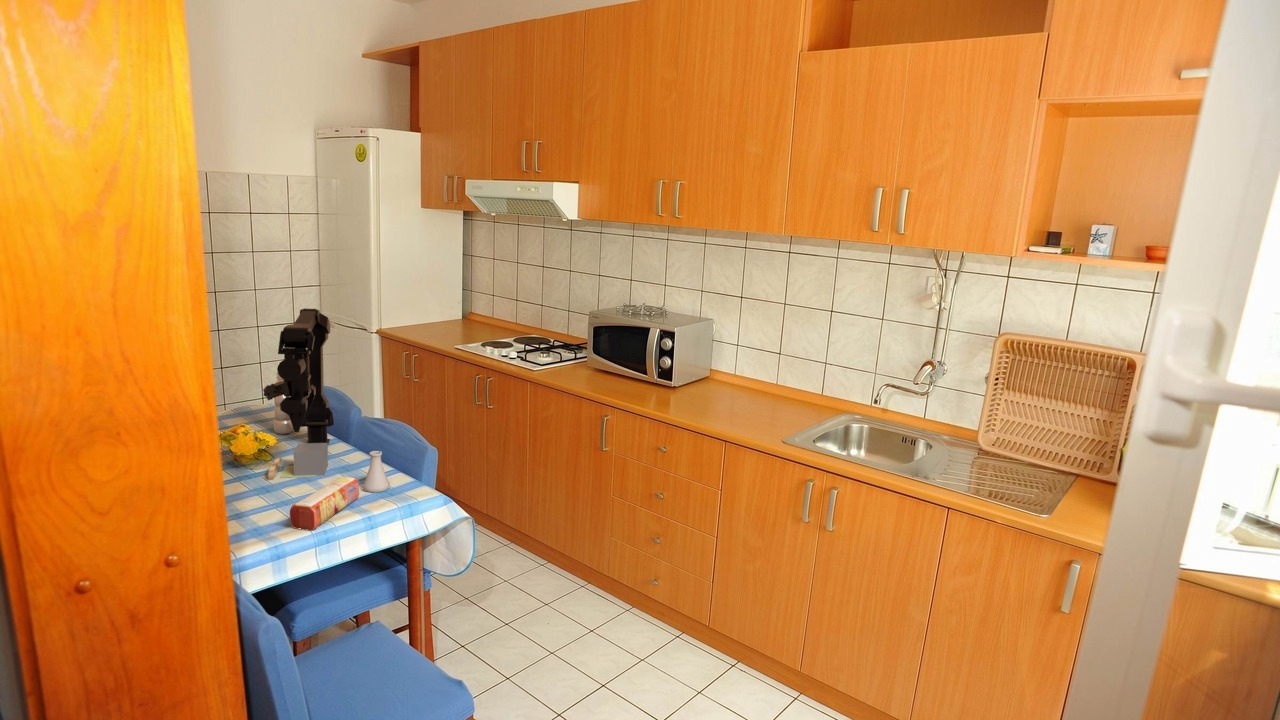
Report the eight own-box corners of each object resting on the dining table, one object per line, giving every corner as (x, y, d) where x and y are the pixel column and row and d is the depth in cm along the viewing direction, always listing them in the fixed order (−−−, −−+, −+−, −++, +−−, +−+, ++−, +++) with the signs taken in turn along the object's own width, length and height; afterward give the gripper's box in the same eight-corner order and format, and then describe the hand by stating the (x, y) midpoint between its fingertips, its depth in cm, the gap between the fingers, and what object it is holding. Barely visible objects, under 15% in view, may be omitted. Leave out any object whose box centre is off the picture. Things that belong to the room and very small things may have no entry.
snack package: (338, 496, 190) (337, 472, 189) (362, 499, 189) (361, 474, 188) (288, 530, 169) (287, 502, 168) (315, 533, 168) (314, 506, 167)
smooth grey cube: (299, 467, 208) (298, 443, 207) (328, 466, 211) (327, 442, 209) (294, 476, 201) (293, 452, 200) (324, 475, 203) (323, 451, 202)
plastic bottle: (269, 434, 235) (266, 374, 231) (282, 429, 241) (280, 369, 238) (287, 436, 234) (285, 376, 230) (300, 431, 240) (298, 371, 237)
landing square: (286, 466, 208) (286, 466, 208) (320, 465, 211) (320, 464, 211) (280, 477, 200) (280, 477, 200) (315, 476, 202) (315, 475, 202)
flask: (384, 494, 193) (384, 458, 191) (357, 492, 193) (356, 456, 191) (394, 484, 200) (394, 449, 198) (367, 482, 200) (367, 447, 198)
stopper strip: (277, 465, 209) (277, 456, 208) (281, 465, 209) (281, 456, 209) (268, 480, 198) (268, 471, 197) (272, 480, 198) (272, 471, 197)
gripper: (272, 365, 206) (274, 418, 209) (257, 380, 189) (260, 438, 192) (315, 365, 209) (316, 417, 212) (304, 380, 192) (306, 437, 195)
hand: (299, 427), depth 203 cm, fingers open, 9 cm apart
